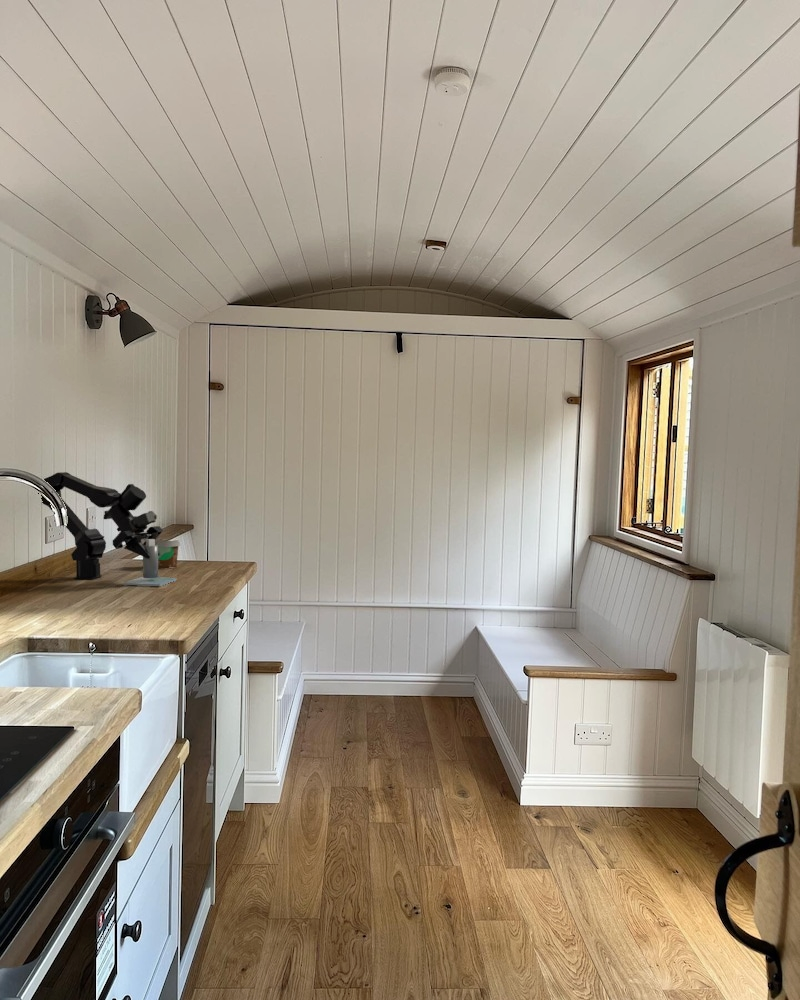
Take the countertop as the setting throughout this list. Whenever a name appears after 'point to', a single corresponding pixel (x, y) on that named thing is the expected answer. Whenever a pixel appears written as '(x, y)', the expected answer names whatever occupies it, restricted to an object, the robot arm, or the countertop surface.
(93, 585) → the countertop surface
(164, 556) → the food container
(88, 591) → the countertop surface
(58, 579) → the countertop surface
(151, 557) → the grey tall rounded piece
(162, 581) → the coaster
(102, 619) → the countertop surface
